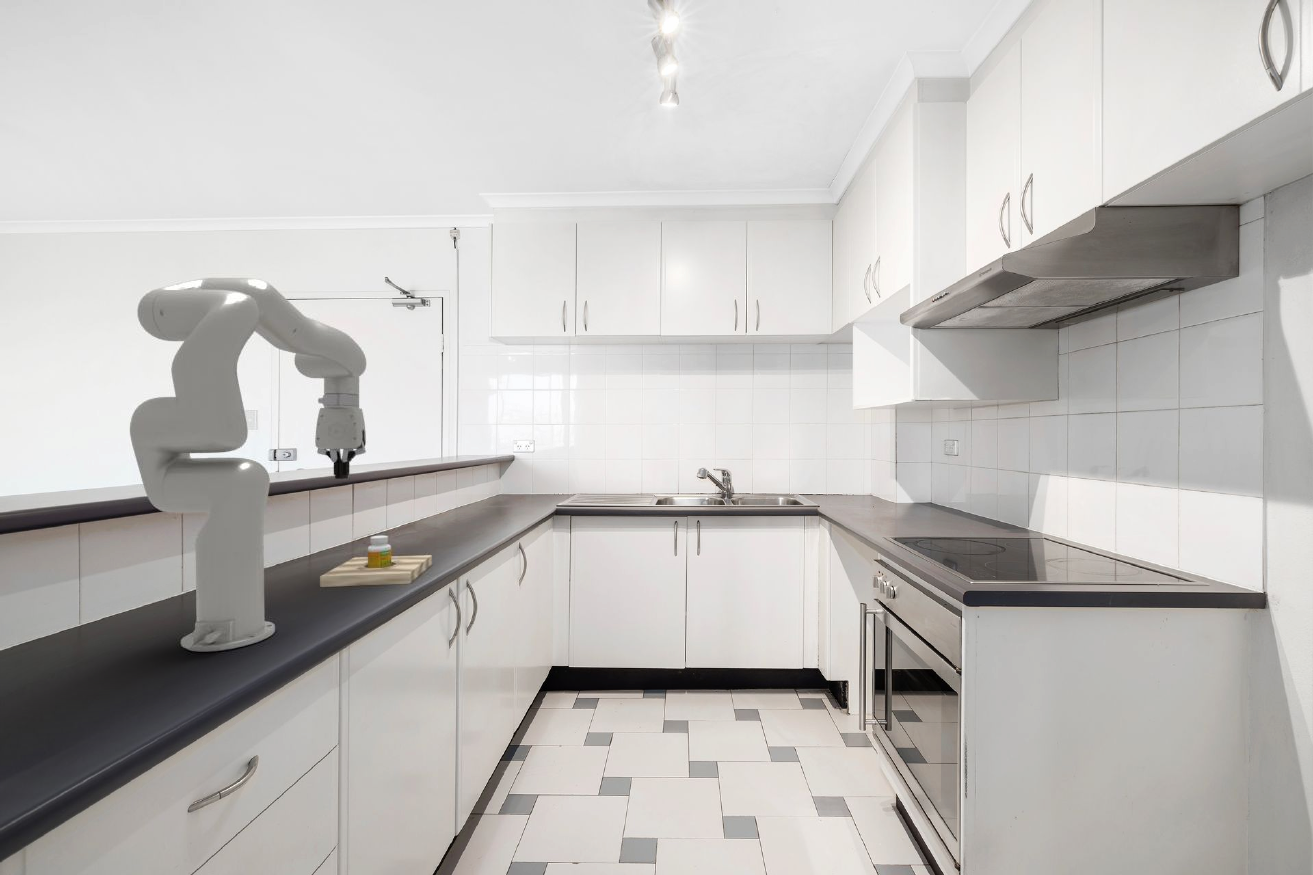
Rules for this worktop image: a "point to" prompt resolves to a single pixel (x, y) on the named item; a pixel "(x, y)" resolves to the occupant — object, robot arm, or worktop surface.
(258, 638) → the robot arm
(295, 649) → the worktop surface
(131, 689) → the worktop surface
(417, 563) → the plate
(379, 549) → the supplement bottle
